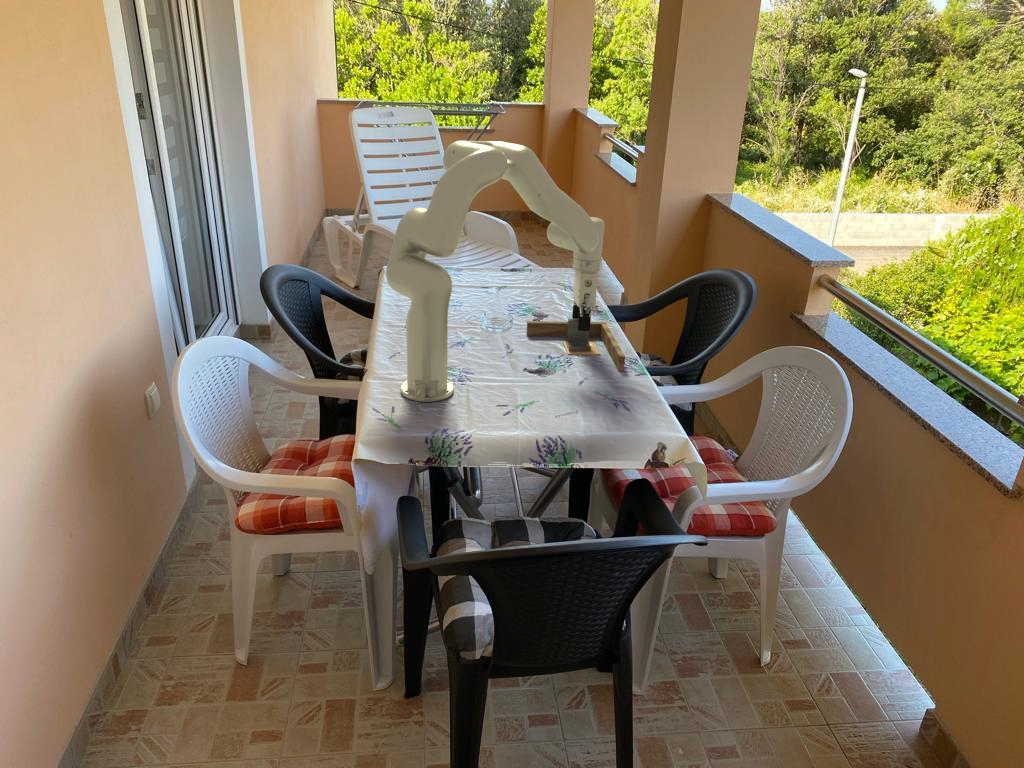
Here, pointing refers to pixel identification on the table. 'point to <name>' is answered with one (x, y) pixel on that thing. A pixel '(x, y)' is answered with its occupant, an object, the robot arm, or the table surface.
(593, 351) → the pad
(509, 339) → the table surface
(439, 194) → the robot arm
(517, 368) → the table surface
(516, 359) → the table surface
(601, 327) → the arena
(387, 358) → the table surface
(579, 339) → the bracket
